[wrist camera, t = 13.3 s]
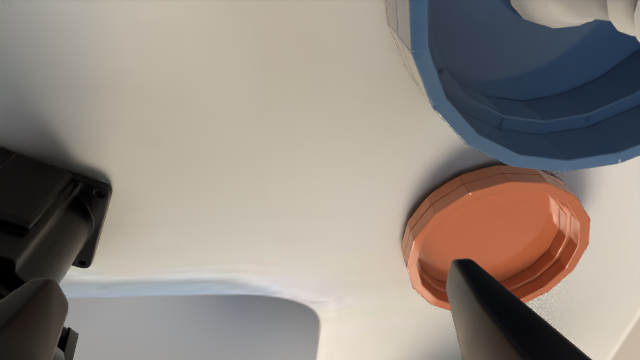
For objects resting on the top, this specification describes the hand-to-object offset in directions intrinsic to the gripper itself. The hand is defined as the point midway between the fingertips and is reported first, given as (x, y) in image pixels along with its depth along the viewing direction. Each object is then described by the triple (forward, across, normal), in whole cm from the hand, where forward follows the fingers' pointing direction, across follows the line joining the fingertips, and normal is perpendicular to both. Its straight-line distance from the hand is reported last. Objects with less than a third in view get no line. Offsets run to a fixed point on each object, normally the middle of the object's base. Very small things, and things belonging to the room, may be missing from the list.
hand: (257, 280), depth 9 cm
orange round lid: (+12, -12, +10) cm, 19 cm away
